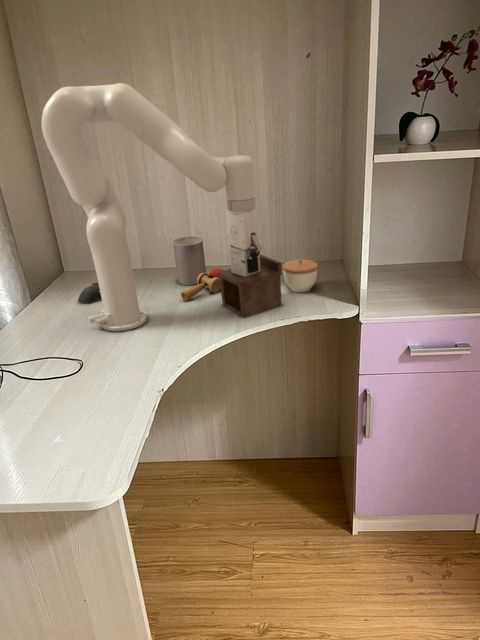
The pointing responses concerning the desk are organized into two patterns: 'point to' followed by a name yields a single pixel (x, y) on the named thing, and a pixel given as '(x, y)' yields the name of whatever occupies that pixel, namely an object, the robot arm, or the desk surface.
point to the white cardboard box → (241, 262)
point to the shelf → (252, 288)
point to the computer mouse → (90, 294)
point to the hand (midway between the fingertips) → (245, 268)
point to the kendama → (204, 284)
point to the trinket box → (300, 274)
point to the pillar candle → (189, 259)
